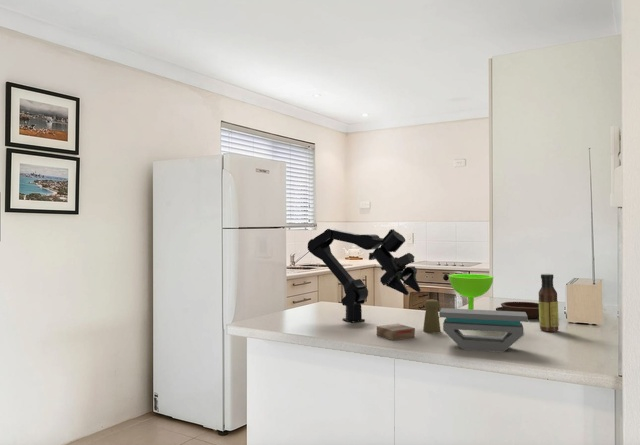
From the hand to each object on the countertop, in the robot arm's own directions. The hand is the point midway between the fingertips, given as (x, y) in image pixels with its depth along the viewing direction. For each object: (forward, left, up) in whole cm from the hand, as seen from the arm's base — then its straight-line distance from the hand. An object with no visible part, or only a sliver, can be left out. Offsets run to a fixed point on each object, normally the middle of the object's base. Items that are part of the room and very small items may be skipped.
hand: (413, 292), depth 187 cm
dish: (+3, +55, -13) cm, 56 cm away
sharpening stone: (+32, 0, -13) cm, 35 cm away
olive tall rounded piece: (+6, +3, -13) cm, 15 cm away
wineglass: (+4, +24, -13) cm, 27 cm away
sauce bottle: (+26, +39, -13) cm, 49 cm away
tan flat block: (+6, -13, -13) cm, 20 cm away
